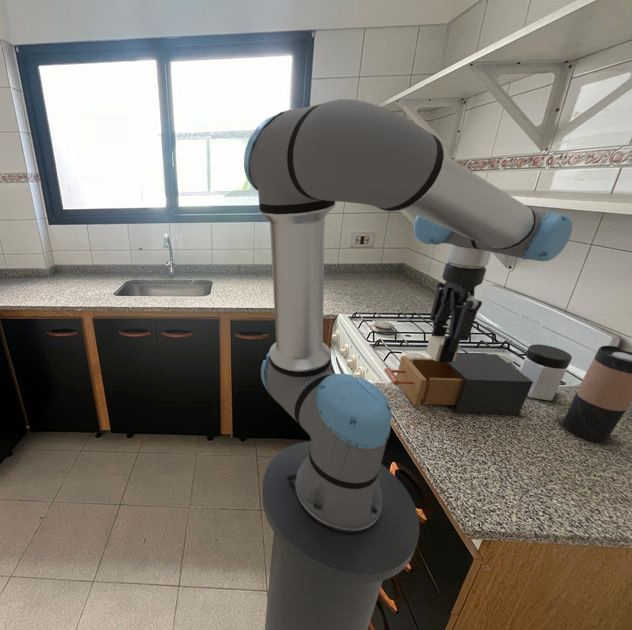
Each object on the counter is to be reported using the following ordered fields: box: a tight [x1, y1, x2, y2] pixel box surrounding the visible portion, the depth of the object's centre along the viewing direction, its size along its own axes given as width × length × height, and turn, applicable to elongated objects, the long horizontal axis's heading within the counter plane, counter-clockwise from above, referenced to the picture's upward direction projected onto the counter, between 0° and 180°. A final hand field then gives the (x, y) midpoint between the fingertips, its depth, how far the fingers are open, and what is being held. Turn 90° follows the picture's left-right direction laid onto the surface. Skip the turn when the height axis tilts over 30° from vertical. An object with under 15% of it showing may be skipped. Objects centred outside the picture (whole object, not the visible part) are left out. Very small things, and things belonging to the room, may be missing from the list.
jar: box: [518, 343, 573, 402], centre depth 90 cm, size 9×8×12 cm
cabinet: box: [446, 352, 533, 416], centre depth 88 cm, size 15×13×10 cm
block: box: [425, 335, 460, 361], centre depth 85 cm, size 5×5×5 cm
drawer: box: [384, 355, 464, 407], centre depth 89 cm, size 18×11×8 cm, turn 86°
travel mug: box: [562, 345, 632, 443], centre depth 74 cm, size 8×8×20 cm
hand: (439, 355), depth 85 cm, fingers closed on block, 5 cm apart
